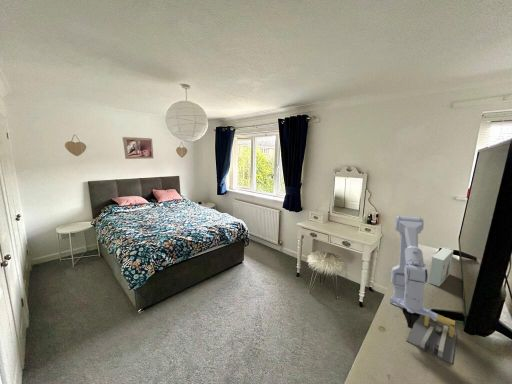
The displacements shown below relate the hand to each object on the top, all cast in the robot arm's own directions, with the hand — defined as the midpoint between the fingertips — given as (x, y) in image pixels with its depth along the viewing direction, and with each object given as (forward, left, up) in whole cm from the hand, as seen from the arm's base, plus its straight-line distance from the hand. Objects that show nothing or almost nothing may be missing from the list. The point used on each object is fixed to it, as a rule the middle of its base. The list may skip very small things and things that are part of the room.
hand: (410, 326), depth 82 cm
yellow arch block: (-12, +8, -5) cm, 15 cm away
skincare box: (-61, +3, -5) cm, 62 cm away
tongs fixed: (-5, +8, -4) cm, 11 cm away
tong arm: (-3, +5, -4) cm, 8 cm away
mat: (-6, +6, -5) cm, 10 cm away
